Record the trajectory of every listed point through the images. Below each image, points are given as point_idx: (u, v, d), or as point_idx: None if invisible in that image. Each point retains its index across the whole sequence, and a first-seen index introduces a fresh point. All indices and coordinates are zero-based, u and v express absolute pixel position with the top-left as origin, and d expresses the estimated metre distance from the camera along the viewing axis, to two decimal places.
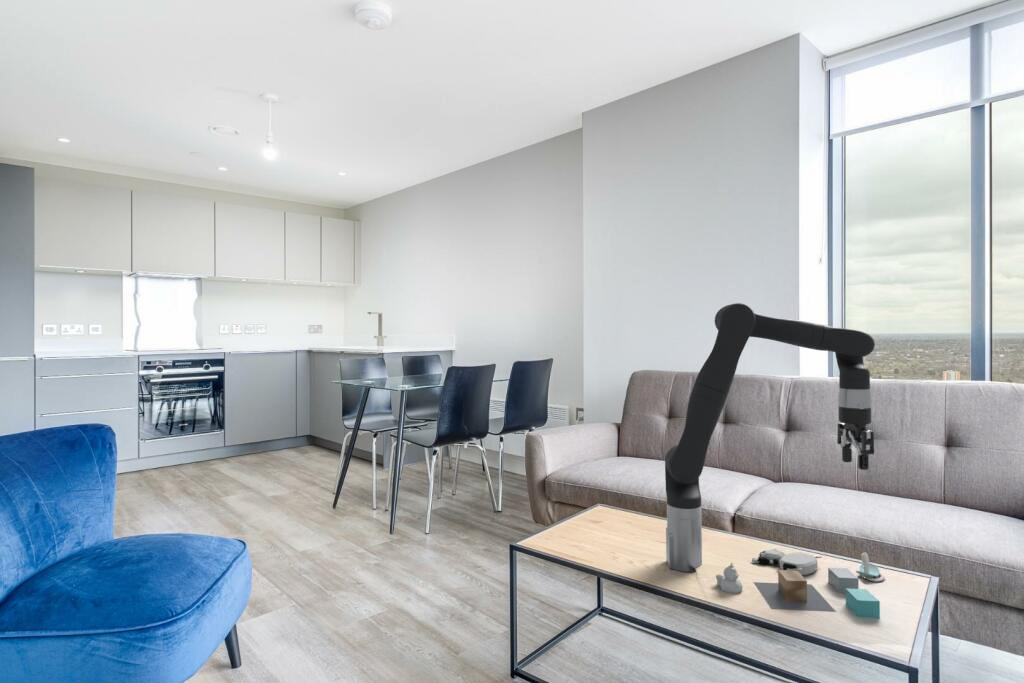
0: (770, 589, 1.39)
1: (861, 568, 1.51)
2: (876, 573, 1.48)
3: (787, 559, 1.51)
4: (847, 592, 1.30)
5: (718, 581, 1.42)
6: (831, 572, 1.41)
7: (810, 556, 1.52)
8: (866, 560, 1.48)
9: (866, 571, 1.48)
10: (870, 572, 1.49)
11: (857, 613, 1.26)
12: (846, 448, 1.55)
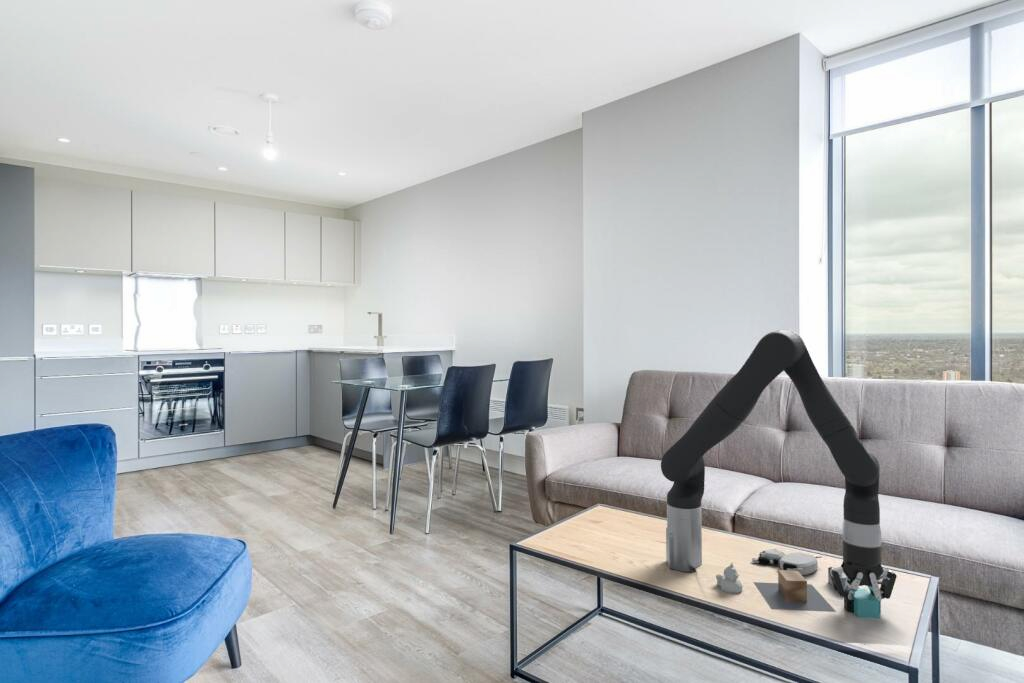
0: (770, 589, 1.39)
1: None
2: None
3: (787, 559, 1.51)
4: None
5: (718, 581, 1.42)
6: None
7: (810, 556, 1.52)
8: None
9: None
10: None
11: (857, 613, 1.26)
12: None
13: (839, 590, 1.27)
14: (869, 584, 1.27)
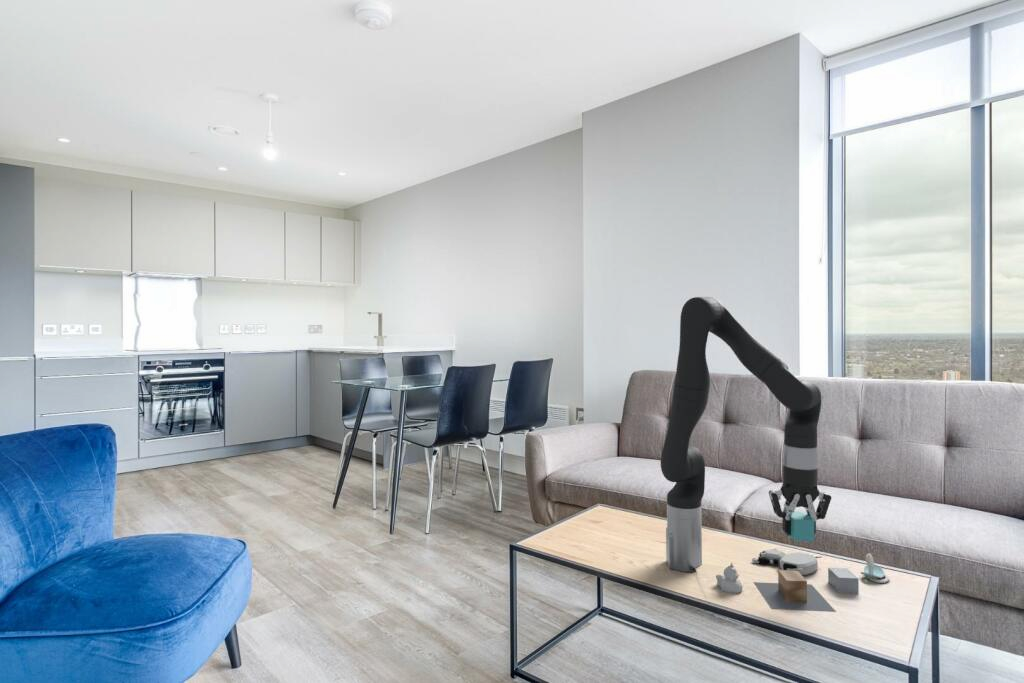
0: (770, 589, 1.39)
1: (866, 569, 1.50)
2: (881, 574, 1.47)
3: (787, 559, 1.51)
4: None
5: (718, 581, 1.42)
6: (831, 572, 1.41)
7: (810, 556, 1.52)
8: (871, 561, 1.47)
9: (871, 572, 1.47)
10: (875, 573, 1.48)
11: (793, 532, 1.33)
12: None
13: (777, 511, 1.34)
14: (805, 505, 1.34)
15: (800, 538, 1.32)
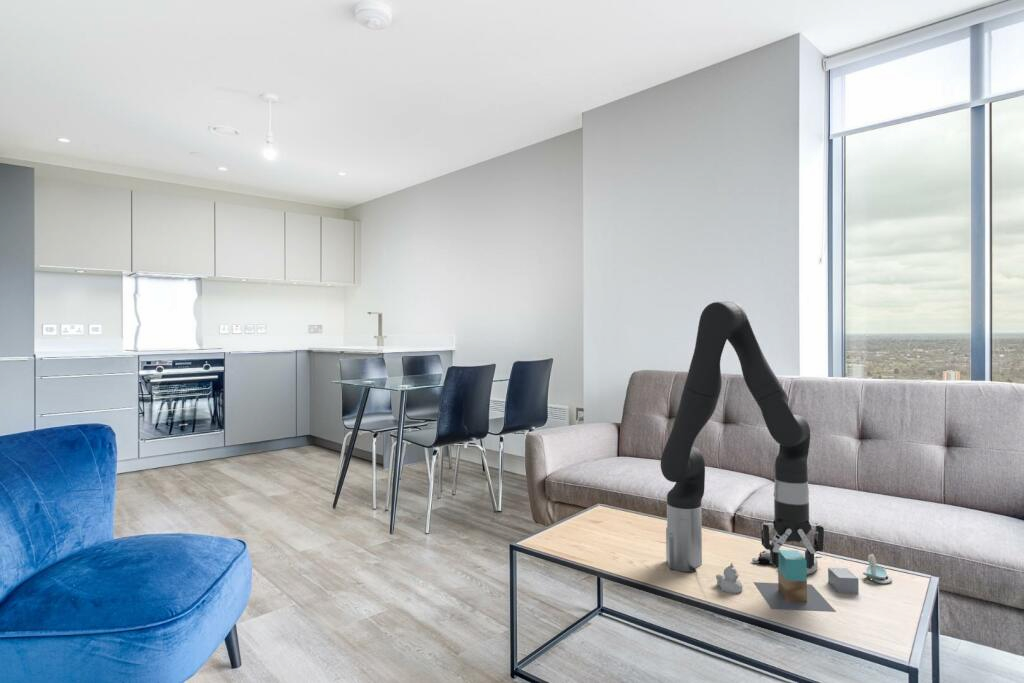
0: (770, 589, 1.39)
1: (868, 570, 1.50)
2: (883, 575, 1.47)
3: None
4: (779, 553, 1.38)
5: (718, 581, 1.42)
6: (831, 572, 1.41)
7: None
8: (873, 562, 1.47)
9: (873, 573, 1.47)
10: (877, 574, 1.48)
11: (786, 571, 1.33)
12: None
13: (764, 543, 1.35)
14: (800, 540, 1.34)
15: (793, 578, 1.33)
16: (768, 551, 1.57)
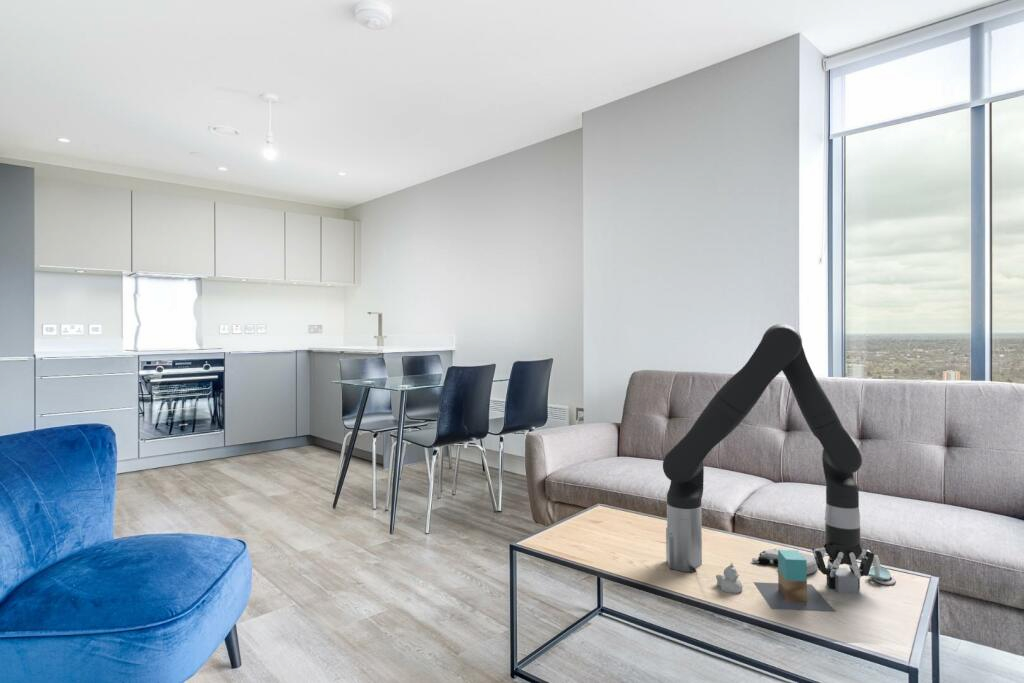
0: (770, 589, 1.39)
1: (872, 571, 1.49)
2: (887, 576, 1.46)
3: None
4: (779, 553, 1.38)
5: (718, 581, 1.42)
6: None
7: (810, 556, 1.52)
8: (877, 563, 1.46)
9: (877, 574, 1.46)
10: (881, 575, 1.47)
11: (786, 571, 1.33)
12: None
13: (822, 568, 1.39)
14: (849, 563, 1.38)
15: (793, 578, 1.33)
16: (768, 551, 1.57)
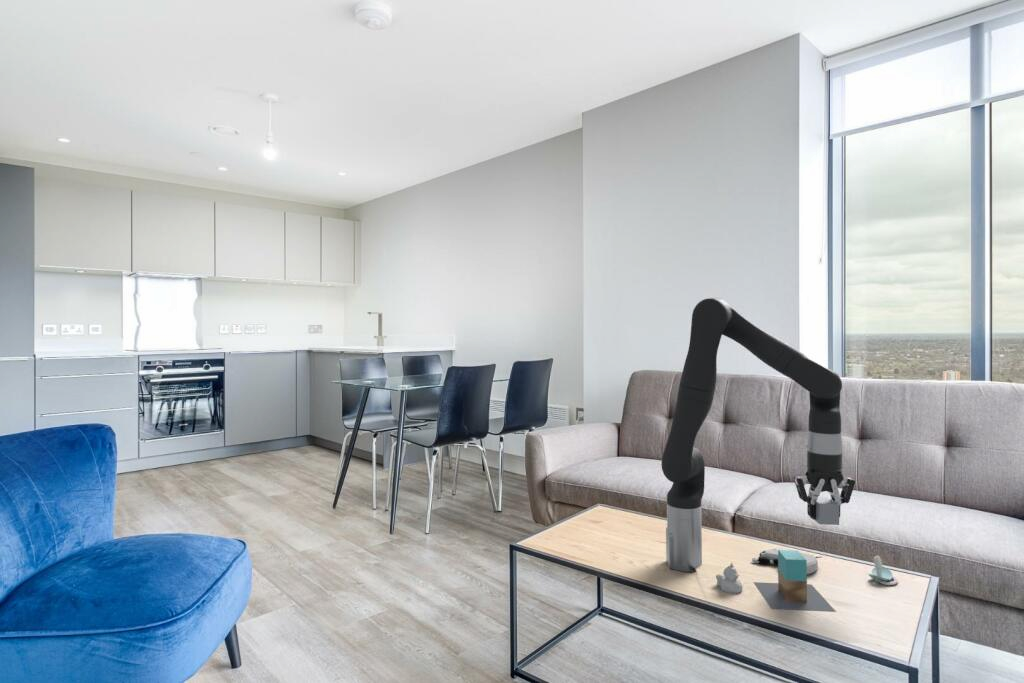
0: (770, 589, 1.39)
1: (874, 571, 1.49)
2: (889, 576, 1.46)
3: None
4: (779, 553, 1.38)
5: (718, 581, 1.42)
6: None
7: (810, 556, 1.52)
8: (879, 563, 1.46)
9: (879, 574, 1.46)
10: (883, 575, 1.47)
11: (786, 571, 1.33)
12: None
13: (803, 496, 1.38)
14: (830, 490, 1.38)
15: (793, 578, 1.33)
16: (768, 551, 1.57)
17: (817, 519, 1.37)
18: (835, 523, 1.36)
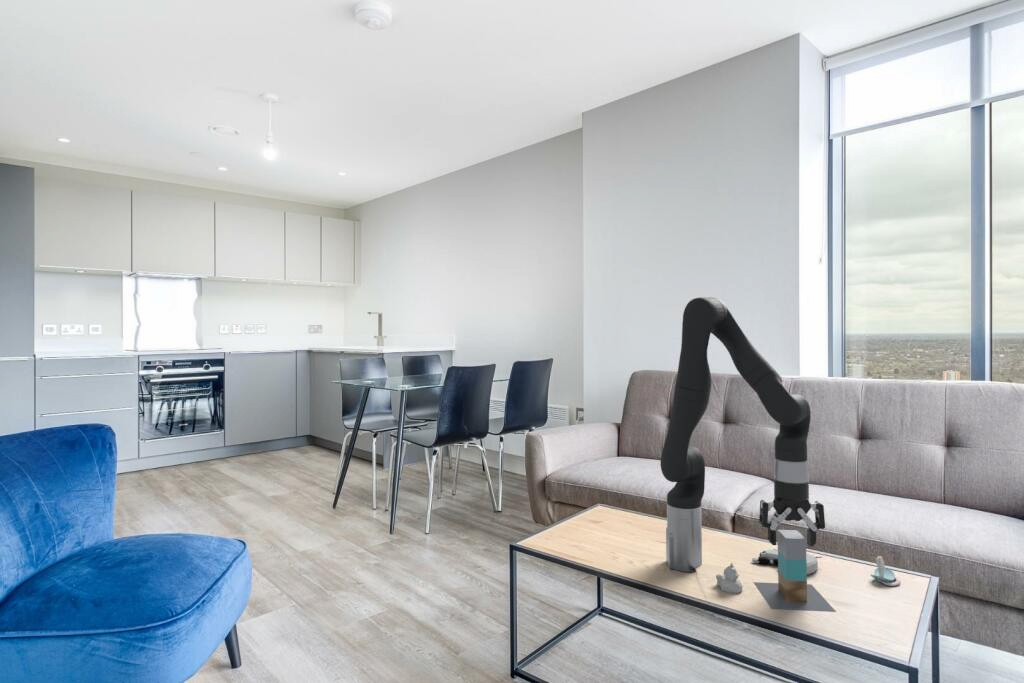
0: (770, 589, 1.39)
1: (876, 572, 1.48)
2: (891, 577, 1.45)
3: None
4: (779, 553, 1.38)
5: (718, 581, 1.42)
6: (780, 534, 1.37)
7: (810, 556, 1.52)
8: (881, 564, 1.45)
9: (881, 575, 1.46)
10: (885, 576, 1.46)
11: (786, 571, 1.33)
12: None
13: (762, 521, 1.35)
14: (801, 519, 1.34)
15: (793, 578, 1.33)
16: (768, 551, 1.57)
17: (784, 554, 1.34)
18: (802, 558, 1.32)
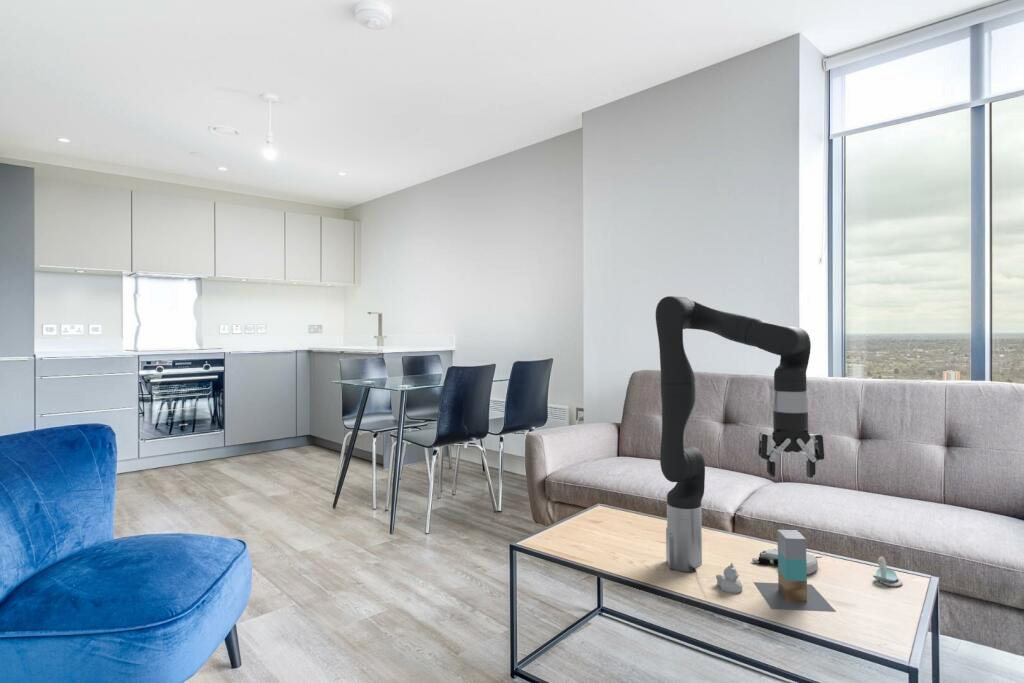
0: (770, 589, 1.39)
1: (878, 572, 1.48)
2: (893, 578, 1.45)
3: None
4: (779, 553, 1.38)
5: (718, 581, 1.42)
6: (780, 534, 1.37)
7: (810, 556, 1.52)
8: (883, 564, 1.45)
9: (883, 576, 1.45)
10: (887, 577, 1.46)
11: (786, 571, 1.33)
12: None
13: (761, 453, 1.35)
14: (800, 450, 1.34)
15: (793, 578, 1.33)
16: (768, 551, 1.57)
17: (784, 554, 1.34)
18: (802, 558, 1.32)
